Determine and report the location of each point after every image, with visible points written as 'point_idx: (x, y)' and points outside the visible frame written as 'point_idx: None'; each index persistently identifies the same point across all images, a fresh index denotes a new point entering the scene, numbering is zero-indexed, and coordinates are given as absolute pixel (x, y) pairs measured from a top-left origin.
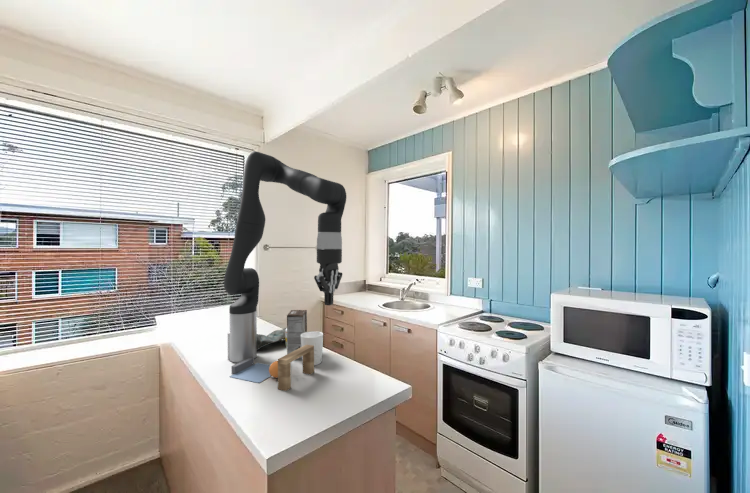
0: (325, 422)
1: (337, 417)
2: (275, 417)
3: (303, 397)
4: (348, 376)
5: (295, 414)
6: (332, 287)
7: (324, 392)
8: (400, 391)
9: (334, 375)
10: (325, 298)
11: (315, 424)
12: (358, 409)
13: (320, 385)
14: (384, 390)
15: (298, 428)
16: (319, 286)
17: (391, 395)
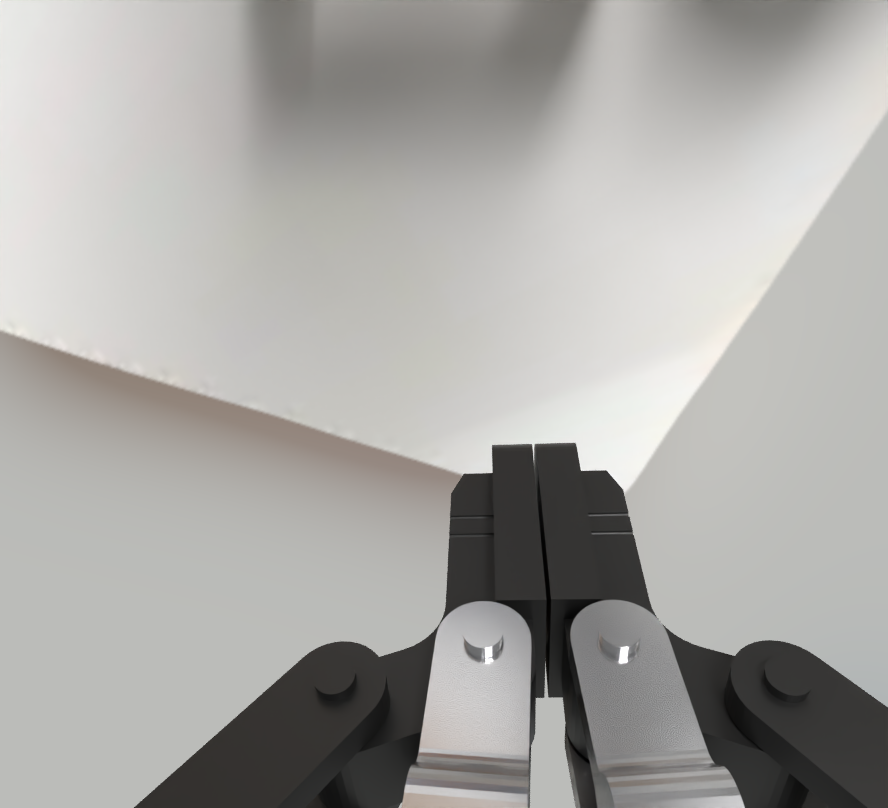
0: (168, 352)
1: (226, 375)
2: (36, 116)
3: (268, 113)
4: (633, 210)
5: (122, 193)
6: (577, 803)
7: (379, 193)
8: None
9: (618, 110)
10: (451, 554)
11: (131, 324)
12: (327, 419)
13: (444, 112)
14: None
15: (63, 279)
16: (200, 788)
17: None
